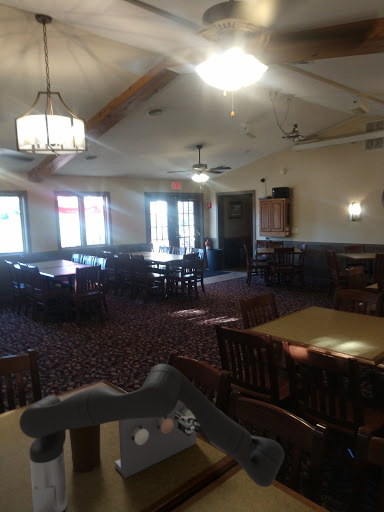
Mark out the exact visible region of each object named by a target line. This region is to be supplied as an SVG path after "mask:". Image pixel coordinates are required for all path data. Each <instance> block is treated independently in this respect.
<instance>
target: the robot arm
mask: <svg viewBox="0 0 384 512" xmlns="http://www.w3.org/2000/svg"><path fill="white" fill-rule="evenodd" d="M178 400H179V401H181V402H182V403H183V404H184V405H185V406H187V408H188V409H189V410H190V411H191V412H192V414H193V415H194V416H189V417H185V416H183V415H182V414H180V413H179V412H175V420H177V424H178V426H177V428H178V429H179V430H180V431H182V432H183V433H184V434H186V435H187V436H191V432H193V431H195V432H196V433H199V434H200V435H201V437H202V438H203V439H204V440H205V441H206V442H208V443H210V444H211V445H212V446H214V447H215V448H216V449H218V450H219V451H222V452H224V453H226V454H227V455H228V456H230V457H231V458H232V459H234V460H235V461H236V462H237V463H238V464H239V465H240V466H241V467H242V469H243V470H244V472H245V473H246V475H248V476H249V478H250V479H251V481H253V483H255V484H256V485H258V487H259V486H260V487H262V488H268V487H270V486H272V485H273V483H274V482H275V479H276V476H277V474H278V471H280V468H281V466H282V464H283V461H284V459H285V451H284V449H283V447H282V446H281V444H280V443H279V442H277V441H276V440H273V439H271V438H268V437H262V436H257V435H253V434H251V432H249V431H248V430H247V429H246V428H245V427H242V425H241V424H238V422H236V421H234V420H233V419H231V417H230V416H228V415H226V414H225V413H224V412H223V411H222V410H221V409H219V408H217V407H216V405H214V404H213V403H212V401H210V400H209V399H208V398H207V397H206V396H205V395H204V394H203V393H202V392H201V390H199V389H198V388H197V387H196V386H195V385H194V384H193V383H192V382H191V381H190V380H189V379H188V378H187V377H186V376H185V375H184V374H183V373H182V372H181V371H180V370H178V369H177V368H175V366H173V365H171V364H166V363H158V364H156V365H154V366H153V367H152V368H151V370H150V371H149V373H148V374H147V377H146V379H145V381H144V382H143V384H142V386H141V387H139V389H137V390H134V391H130V392H125V393H121V392H119V391H118V390H117V389H116V388H115V389H114V388H113V387H111V386H107V385H103V386H102V385H101V386H95V387H92V388H88V389H85V390H83V391H80V392H77V393H75V394H73V395H70V396H69V397H66V398H65V399H63V400H61V399H60V398H59V397H58V396H56V395H52V394H51V395H47V396H45V397H43V398H41V399H40V400H38V401H36V402H35V403H33V404H31V405H29V406H28V407H26V408H25V409H24V411H23V412H22V413H21V415H20V418H19V429H20V431H21V432H22V433H23V434H24V435H25V436H27V437H28V438H31V439H34V441H33V442H32V444H31V445H30V448H29V461H30V462H29V464H30V477H31V479H30V481H31V493H32V506H33V507H32V509H33V512H64V511H65V510H66V508H67V504H68V502H67V501H68V500H67V499H68V497H67V487H66V471H65V470H66V468H65V453H64V449H65V448H64V444H65V442H66V436H67V434H66V431H67V430H68V431H69V429H76V428H81V427H87V426H94V425H99V424H100V425H102V424H107V423H111V422H119V420H126V419H136V418H155V417H163V416H166V415H168V414H170V413H171V412H172V411H173V410H174V408H175V407H176V404H177V402H178ZM185 420H187V421H188V423H185ZM191 420H193V425H192V422H191Z"/></svg>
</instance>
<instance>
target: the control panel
mask: <svg viewBox="0 0 384 512" xmlns="http://www.w3.org/2000/svg"><path fill="white" fill-rule="evenodd" d="M184 407H185V408H187V406H185V405H184V404H183V403H182V402H181V401H179V400H178V402H177V404H176V407H175V408H174V410H173V411H172V412H171V413H170V414H168V415H166V416H163V417H164V418H165V419H167V418H170V419H171V420H172V421H173V428H172V430H171V431H170V432H169V433H167V434H164V433H163V432H162V431H161V427H160V426H158V425H157V418H159V417H155V418H136V419H126V420H119V421H118V435H119V436H118V437H119V457H120V458H119V459H117V460H115V461H114V467H115V468H116V470H118V472H119V473H120V474H121V476H122V477H123V478H124V479H126V478H128V477H131V476H133V475H135V474H137V473H139V472H141V471H143V470H145V469H147V468H149V467H151V466H153V465H156V464H157V463H159V462H162V461H163V460H165V459H167V458H169V457H172V456H173V455H175V454H178V453H180V452H183V451H184V450H186V449H187V448H190V447H192V446H194V445H196V444H197V432H195V431H193V432H191V436H187V435H186V434H184V433H183V432H182V431H180V430H179V429H178V428H177V426H178V424H177V420H175V412H179V413H180V409H182V408H184ZM187 409H188V408H187ZM188 410H189V409H188ZM185 423H186V422H185ZM192 425H193V422H192ZM137 426H138V427H139V428H140V429H146V430H147V431H148V433H149V437H148V439H147V441H146V442H145V443H144V444H142V445H138V444H137V443H136V442H135V437H133V436H132V434H131V429H132V428H135V427H137Z"/></svg>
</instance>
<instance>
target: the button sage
mask: <svg viewBox="0 0 384 512" xmlns="http://www.w3.org/2000/svg"><path fill="white" fill-rule="evenodd" d="M180 414H182V415H183V416H185V417H189V416H194V415H193V414H192V412H191V411H190V410H188V409H187V408H185V407H184V408H182V409H180ZM185 422H186V423H188V421H187V420H185ZM191 422H193V420H191Z"/></svg>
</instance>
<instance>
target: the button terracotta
mask: <svg viewBox="0 0 384 512" xmlns="http://www.w3.org/2000/svg"><path fill="white" fill-rule="evenodd" d="M157 425H158V426H160V427H161V431H162V432H163V433H164V434H167V433H169V432H170V431H171V430H172V428H173V421H172V420H171V419H170V418H167V419H165V418H164V417H159V418H157Z"/></svg>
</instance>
